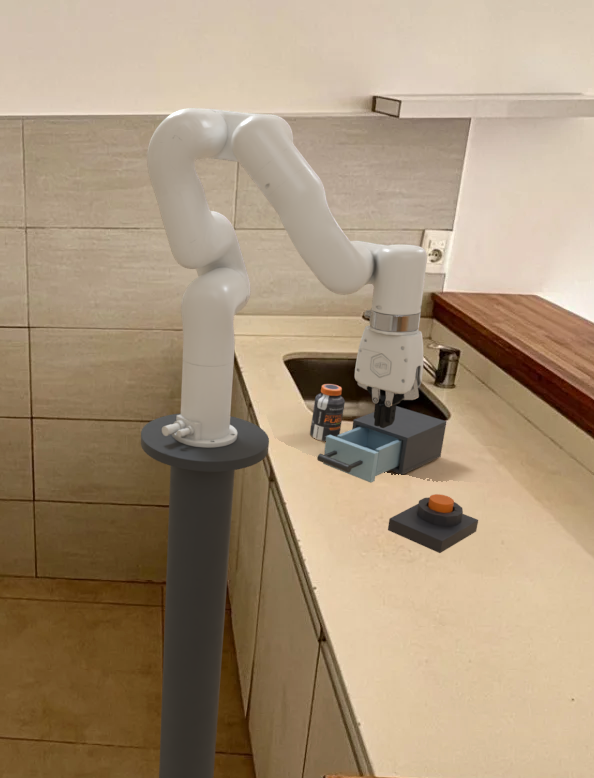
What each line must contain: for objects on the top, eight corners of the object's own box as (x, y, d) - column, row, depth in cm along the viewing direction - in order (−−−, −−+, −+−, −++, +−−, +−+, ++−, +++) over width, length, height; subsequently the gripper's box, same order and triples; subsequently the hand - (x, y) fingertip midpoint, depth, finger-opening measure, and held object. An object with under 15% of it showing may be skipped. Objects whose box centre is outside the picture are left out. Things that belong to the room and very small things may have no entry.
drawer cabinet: (402, 475, 144) (407, 437, 142) (348, 455, 153) (353, 419, 150) (440, 456, 152) (446, 421, 149) (388, 438, 161) (392, 404, 158)
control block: (439, 553, 118) (444, 530, 117) (387, 530, 125) (390, 508, 124) (476, 531, 124) (480, 509, 123) (424, 510, 131) (427, 489, 130)
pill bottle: (322, 444, 158) (329, 393, 154) (303, 433, 163) (310, 383, 159) (345, 440, 160) (353, 389, 156) (326, 429, 165) (333, 380, 161)
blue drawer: (354, 490, 136) (358, 460, 134) (306, 470, 144) (309, 442, 142) (409, 465, 146) (413, 437, 144) (361, 447, 154) (365, 421, 152)
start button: (444, 516, 122) (446, 506, 121) (423, 507, 125) (425, 498, 124) (456, 509, 124) (458, 500, 123) (435, 501, 127) (437, 492, 126)
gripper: (341, 317, 130) (333, 418, 136) (425, 333, 118) (412, 443, 124) (367, 310, 134) (357, 409, 140) (450, 325, 123) (436, 431, 129)
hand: (383, 424), depth 132 cm, fingers closed
